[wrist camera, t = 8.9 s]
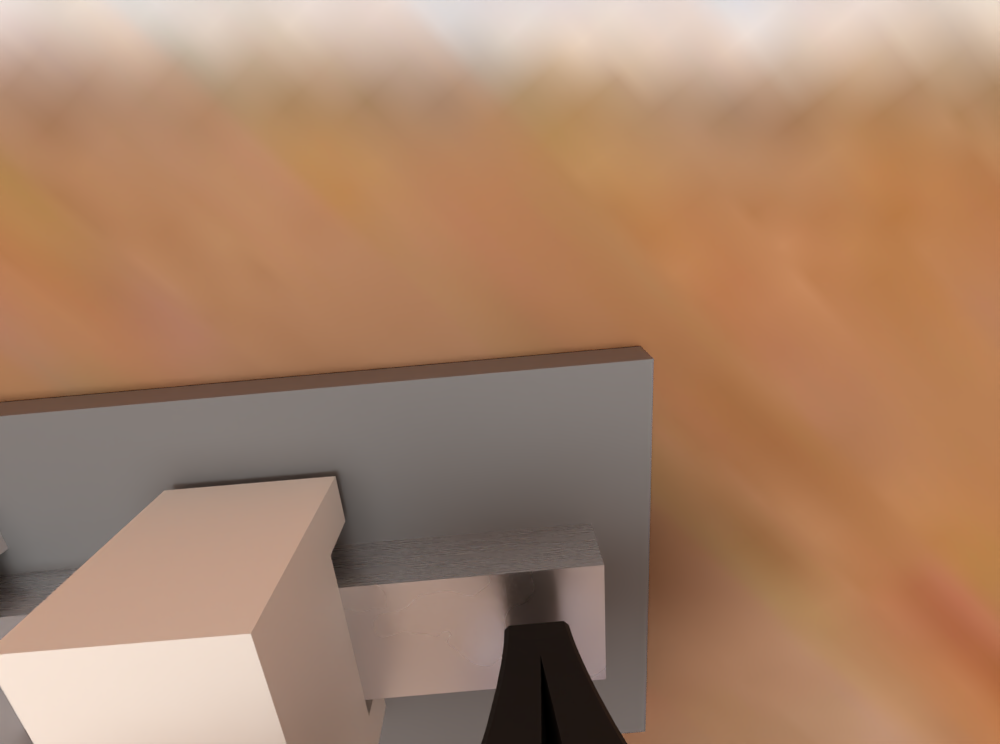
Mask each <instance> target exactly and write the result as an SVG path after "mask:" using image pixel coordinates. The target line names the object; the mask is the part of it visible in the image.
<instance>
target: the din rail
mask: <svg viewBox="0 0 1000 744" xmlns="http://www.w3.org/2000/svg"><path fill="white" fill-rule="evenodd" d="M331 559H332V563H333V567H334V571H335V576H336V580H337V584H338V588H339V593H340V597H341V601H342V605H343V609H344V614H345V618H346V622H347V626H348V630H349V635H350V639H351V643H352V647H353V651H354V656H355V660H356V664H357V668H358V672H359V677H360V681H361V685H362V689H363V693H364V698H365V700H370V699H382V698H393V697H405V696H417V695H428V694H440V693H451V692H463V691H475V690H486V689H496V686H497V681H498V676H499V671H500V666H501V660H502V654H503V645H504V630H505V629H506V628H507V627H508V626H510V625H522V624H533V623H545V622H557V621H565V622H566V623H567V624H569V627H570V630H571V633H572V636H573V639H574V641H575V644H576V646H577V649H578V651H579V654H580V656H581V658H582V660H583V663H584V665H585V667H586V669H587V671H588V673H589V675H590V677H591V679H592V680H603V679H606V645H605V580H604V563H603V560H602V557H601V553H600V550H599V547H598V544H597V541H596V538H595V535H594V532H593V529H592V525H591V524H579V525H567V526H556V527H544V528H533V529H521V530H510V531H498V532H487V533H475V534H464V535H452V536H441V537H429V538H418V539H406V540H395V541H383V542H372V543H360V544H349V545H337V546H334V548H333V551H332V553H331ZM78 569H79V568H72V569H61V570H49V571H38V572H26V573H15V574H3V575H0V640H1V639H2V638H3V637H4V636H5V635H7V634H8V633H9V632H10V631H11V630H12V629H13V628H14V627H15V626H16V625H17V624H19V623H20V622H21V621H22V620H23V619H24V618H25V617H26V616H27V615H28V614H30V613H31V612H32V611H33V610H34V609H35V608H36V607H37V606H38V605H39V604H40V603H42V602H43V601H44V600H45V599H46V598H47V597H48V596H49V595H50V594H51V593H53V592H54V591H55V590H56V589H57V588H58V587H59V586H60V585H61V584H62V583H63V582H65V581H66V580H67V579H68V578H69V577H70V576H71V575H72V574H73V573H74V572H76V571H77V570H78ZM0 688H1V686H0ZM1 690H2V688H1ZM2 691H3V690H2ZM3 693H4V691H3ZM4 695H5V693H4ZM5 696H6V695H5ZM6 698H7V696H6ZM7 700H8V698H7ZM8 702H9V700H8ZM9 703H10V702H9ZM10 705H11V703H10ZM11 707H12V705H11ZM12 708H13V707H12ZM13 710H14V709H13ZM14 712H15V710H14ZM15 714H16V712H15ZM16 715H17V714H16ZM17 717H18V716H17ZM18 719H19V717H18ZM19 721H20V719H19ZM20 722H21V721H20ZM21 724H22V723H21ZM22 726H23V724H22ZM23 727H24V726H23ZM24 729H25V728H24Z"/></svg>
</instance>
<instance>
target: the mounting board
mask: <svg viewBox="0 0 1000 744" xmlns="http://www.w3.org/2000/svg"><path fill="white" fill-rule="evenodd" d="M653 364H654V359H653V358H652V357H651V356H650V355H649V354H648V353H647V352H646V351H645V350H644V349H643V348H642V347H641V346H637V347H626V348H614V349H603V350H591V351H580V352H569V353H557V354H546V355H534V356H523V357H512V358H500V359H489V360H477V361H466V362H455V363H443V364H432V365H420V366H409V367H398V368H386V369H375V370H363V371H352V372H341V373H329V374H318V375H306V376H295V377H284V378H272V379H261V380H249V381H238V382H227V383H215V384H204V385H192V386H181V387H170V388H158V389H147V390H135V391H124V392H113V393H101V394H90V395H78V396H67V397H56V398H44V399H33V400H21V401H10V402H0V533H1V535H2V537H3V539H4V541H5V543H6V545H7V547H8V549H7V550H6V551H5V552H3V553H2V554H0V575H3V574H15V573H26V572H38V571H49V570H61V569H72V568H80V567H81V566H82V565H83V564H84V563H85V562H86V561H88V560H89V559H90V558H91V557H92V556H93V555H94V554H95V553H96V552H97V551H98V550H100V549H101V548H102V547H103V546H104V545H105V544H106V543H107V542H108V541H109V540H111V539H112V538H113V537H114V536H115V535H116V534H117V533H118V532H119V531H120V530H121V529H123V528H124V527H125V526H126V525H127V524H128V523H129V522H130V521H131V520H132V519H134V518H135V517H136V516H137V515H138V514H139V513H140V512H141V511H142V510H143V509H144V508H146V507H147V506H148V505H149V504H150V503H151V502H152V501H153V500H154V499H155V498H157V497H158V496H159V495H160V494H161V493H162V492H163V491H164V490H175V489H187V488H199V487H211V486H223V485H235V484H247V483H259V482H271V481H283V480H295V479H307V478H319V477H331V476H336V481H337V485H338V490H339V495H340V499H341V504H342V508H343V513H344V517H345V523H344V525H343V528H342V530H341V532H340V535H339V537H338V539H337V542H336V544H335V546H337V545H349V544H360V543H372V542H383V541H395V540H406V539H418V538H429V537H441V536H452V535H464V534H475V533H487V532H498V531H510V530H521V529H533V528H544V527H556V526H567V525H579V524H591V525H592V529H593V532H594V535H595V538H596V541H597V544H598V547H599V550H600V553H601V557H602V560H603V563H604V580H605V645H606V679H603V680H592V681H593V683H594V685H595V687H596V689H597V691H598V693H599V695H600V697H601V699H602V700H603V702H604V704H605V706H606V708H607V710H608V711H609V713H610V715H611V717H612V719H613V721H614V722H615V724H616V726H617V727H618V729H619V731H620V733H621V734H622V733H634V732H645V724H646V679H647V634H648V589H649V544H650V499H651V454H652V409H653ZM495 691H496V689H486V690H475V691H463V692H451V693H440V694H428V695H417V696H405V697H393V698H384V700H385V704H386V708H385V713H384V718H383V723H382V728H381V733H380V738H379V743H378V744H481V742H482V739H483V736H484V733H485V729H486V726H487V722H488V718H489V714H490V710H491V706H492V702H493V698H494V694H495Z"/></svg>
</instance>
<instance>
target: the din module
mask: <svg viewBox="0 0 1000 744" xmlns="http://www.w3.org/2000/svg"><path fill="white" fill-rule="evenodd" d="M344 523H345V517H344V513H343V508H342V504H341V499H340V495H339V490H338V485H337V481H336V476H331V477H319V478H307V479H295V480H283V481H271V482H259V483H247V484H235V485H223V486H211V487H199V488H187V489H175V490H164V491H163V492H162V493H161V494H160V495H159V496H158V497H157V498H155V499H154V500H153V501H152V502H151V503H150V504H149V505H148V506H147V507H146V508H144V509H143V510H142V511H141V512H140V513H139V514H138V515H137V516H136V517H135V518H134V519H132V520H131V521H130V522H129V523H128V524H127V525H126V526H125V527H124V528H123V529H121V530H120V531H119V532H118V533H117V534H116V535H115V536H114V537H113V538H112V539H111V540H109V541H108V542H107V543H106V544H105V545H104V546H103V547H102V548H101V549H100V550H98V551H97V552H96V553H95V554H94V555H93V556H92V557H91V558H90V559H89V560H88V561H86V562H85V563H84V564H83V565H82V566H81V567H80V568H79V569H78V570H77V571H76V572H74V573H73V574H72V575H71V576H70V577H69V578H68V579H67V580H66V581H65V582H63V583H62V584H61V585H60V586H59V587H58V588H57V589H56V590H55V591H54V592H53V593H51V594H50V595H49V596H48V597H47V598H46V599H45V600H44V601H43V602H42V603H40V604H39V605H38V606H37V607H36V608H35V609H34V610H33V611H32V612H31V613H30V614H28V615H27V616H26V617H25V618H24V619H23V620H22V621H21V622H20V623H19V624H17V625H16V626H15V627H14V628H13V629H12V630H11V631H10V632H9V633H8V634H7V635H5V636H4V637H3V638H2V639H1V640H0V686H1V688H2V690H3V691H4V693H5V695H6V696H7V698H8V700H9V702H10V703H11V705H12V707H13V709H14V710H15V712H16V714H17V716H18V717H19V719H20V721H21V723H22V724H23V726H24V728H25V729H26V731H27V733H28V735H29V736H30V738H31V740H32V742H33V743H34V744H378V743H379V738H380V733H381V728H382V723H383V718H384V713H385V708H386V704H385V700H384V698H382V699H370V700H365V698H364V693H363V689H362V685H361V681H360V677H359V672H358V668H357V664H356V660H355V656H354V651H353V647H352V643H351V639H350V635H349V630H348V626H347V622H346V618H345V614H344V609H343V605H342V601H341V597H340V593H339V588H338V584H337V580H336V576H335V571H334V567H333V563H332V559H331V553H332V551H333V548H334V546H335V544H336V542H337V539H338V537H339V535H340V532H341V530H342V528H343V525H344Z"/></svg>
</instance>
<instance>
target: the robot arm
mask: <svg viewBox="0 0 1000 744" xmlns="http://www.w3.org/2000/svg"><path fill="white" fill-rule="evenodd" d="M481 744H627V743H626V741H625V739H624V738H623V736H622V734H621V733H620V731H619V729H618V727H617V726H616V724H615V722H614V721H613V719H612V717H611V715H610V713H609V711H608V710H607V708H606V706H605V704H604V702H603V700H602V699H601V697H600V695H599V693H598V691H597V689H596V687H595V685H594V683H593V681H592V679H591V677H590V675H589V673H588V671H587V669H586V667H585V665H584V663H583V660H582V658H581V656H580V654H579V651H578V649H577V646H576V644H575V641H574V639H573V636H572V633H571V630H570V627H569V624H567V623H566V622H565V621H557V622H545V623H533V624H522V625H510V626H508V627H507V628H506V629H505V630H504V645H503V654H502V660H501V666H500V671H499V676H498V681H497V686H496V691H495V694H494V698H493V702H492V706H491V710H490V714H489V718H488V722H487V726H486V729H485V733H484V736H483V739H482V742H481Z"/></svg>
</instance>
